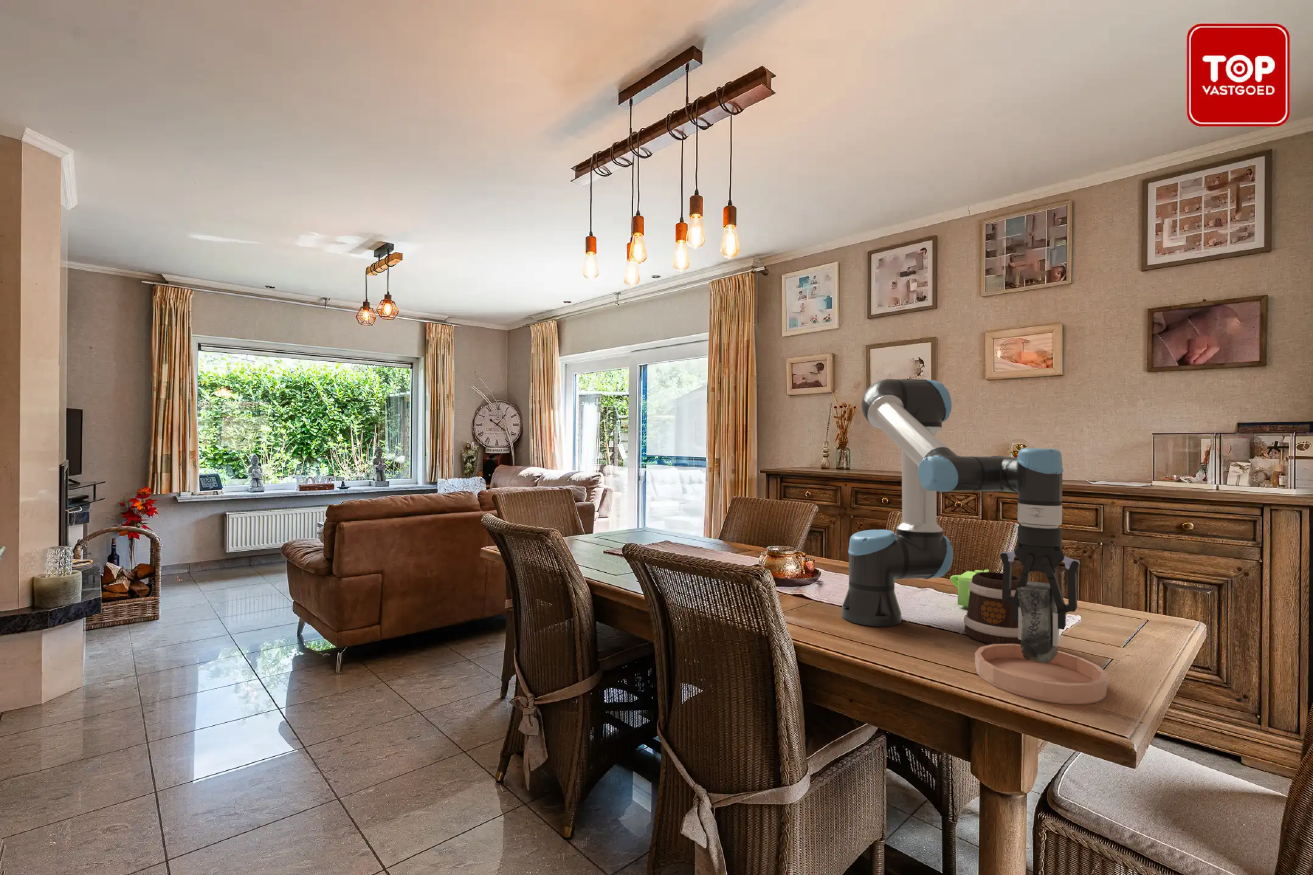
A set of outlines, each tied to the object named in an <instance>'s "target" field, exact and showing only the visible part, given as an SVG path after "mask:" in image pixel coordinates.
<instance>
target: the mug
mask: <svg viewBox="0 0 1313 875" xmlns="http://www.w3.org/2000/svg"><path fill="white" fill-rule="evenodd" d="M1020 577H1021V576H1018V575H1014V574H1012V580H1011V595H1012V596H1014V595H1015V592H1016V589H1017V586H1018V583H1019V580H1020ZM1002 585H1003V572H995V571H993V572H992V571H991V572H990V571H989V572H980V573H977V574H975V575H973V577H972V581H970V582H969V586H968V587H969V590H970V595H969V603H968V608H967V609H966V610H967V612H966V614H965V615H964V618H963V622H964V632H965V634H966V635H967V636H968V637H970V638H971V639H973V640H974V641H978V642H980V643H983V644H987V645H991V644H1020V645H1021V641H1022V640H1020V639H1018V622H1017V621H1013V619H1012V604H1011V603H1009V602H1007V601H1004V600H1003V599H1002ZM1055 608H1056V609H1057V607H1056V604H1055Z"/></svg>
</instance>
